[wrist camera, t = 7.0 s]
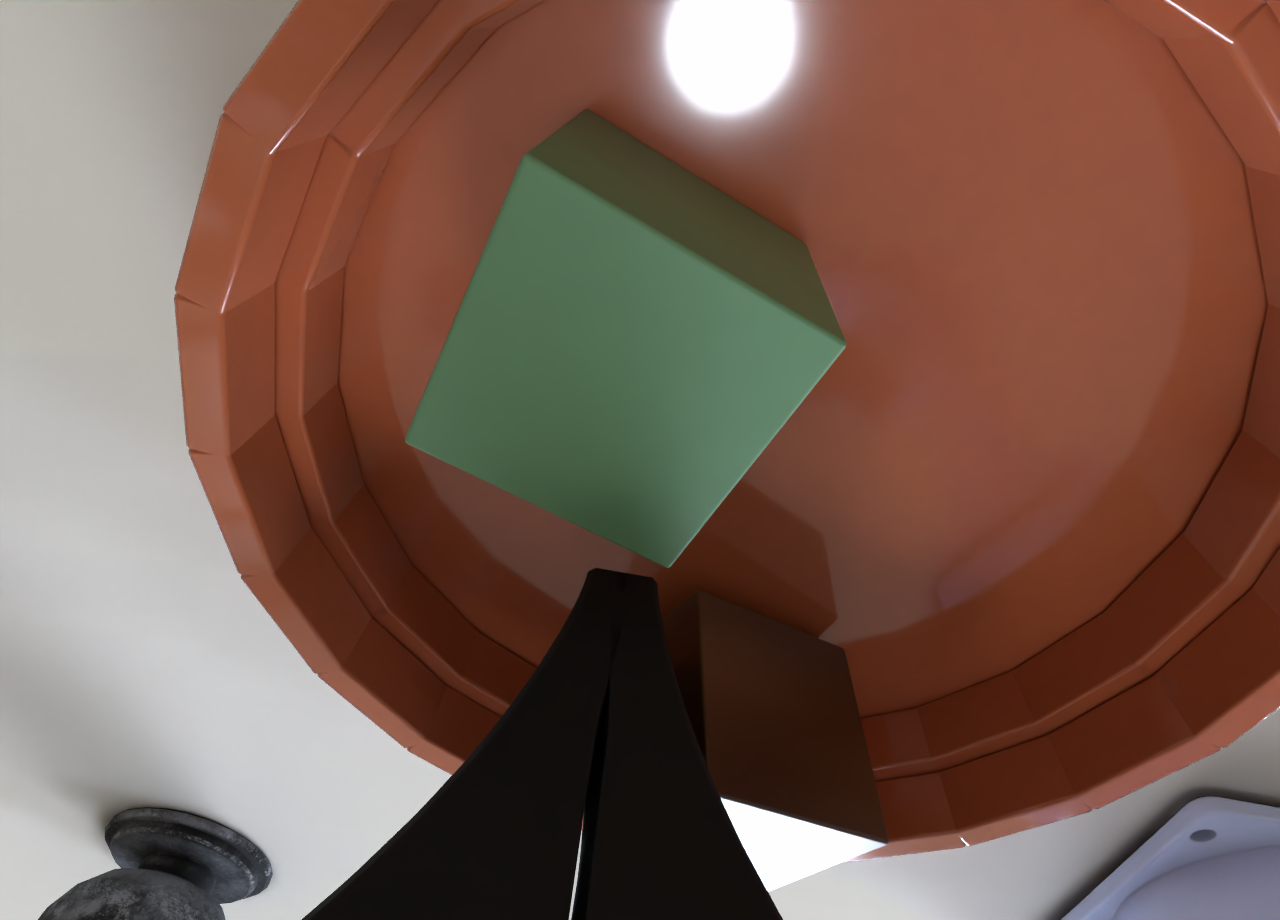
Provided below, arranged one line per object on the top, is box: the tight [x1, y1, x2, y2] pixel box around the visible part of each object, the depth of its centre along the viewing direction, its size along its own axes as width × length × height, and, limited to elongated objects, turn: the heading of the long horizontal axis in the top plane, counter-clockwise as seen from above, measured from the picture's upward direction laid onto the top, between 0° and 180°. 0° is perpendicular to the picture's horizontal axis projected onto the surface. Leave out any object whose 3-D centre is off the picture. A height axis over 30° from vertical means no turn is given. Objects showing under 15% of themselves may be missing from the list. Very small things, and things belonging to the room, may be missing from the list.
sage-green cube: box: [405, 109, 847, 568], centre depth 9 cm, size 4×4×4 cm
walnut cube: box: [662, 590, 889, 892], centre depth 12 cm, size 4×4×4 cm
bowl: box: [174, 0, 1280, 862], centre depth 11 cm, size 16×16×3 cm
